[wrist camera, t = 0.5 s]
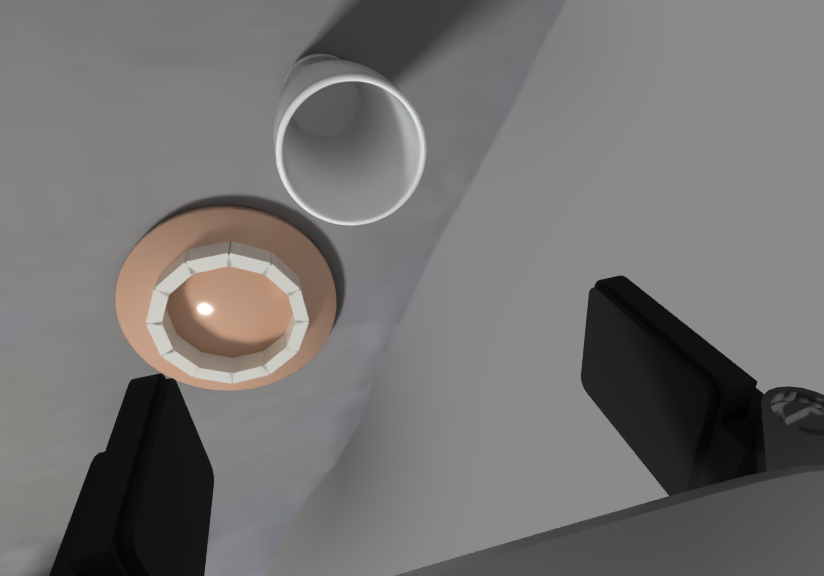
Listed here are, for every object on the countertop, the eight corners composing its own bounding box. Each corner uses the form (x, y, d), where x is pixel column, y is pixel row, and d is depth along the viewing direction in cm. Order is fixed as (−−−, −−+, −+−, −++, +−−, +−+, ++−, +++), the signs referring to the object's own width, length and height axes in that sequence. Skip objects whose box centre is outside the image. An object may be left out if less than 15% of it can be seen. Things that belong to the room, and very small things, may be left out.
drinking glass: (381, 54, 35) (447, 92, 22) (360, 154, 38) (409, 237, 25) (277, 27, 33) (285, 52, 20) (264, 135, 36) (263, 216, 23)
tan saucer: (79, 231, 36) (65, 249, 33) (311, 185, 38) (315, 199, 36) (164, 402, 44) (158, 427, 42) (351, 356, 46) (356, 378, 44)
